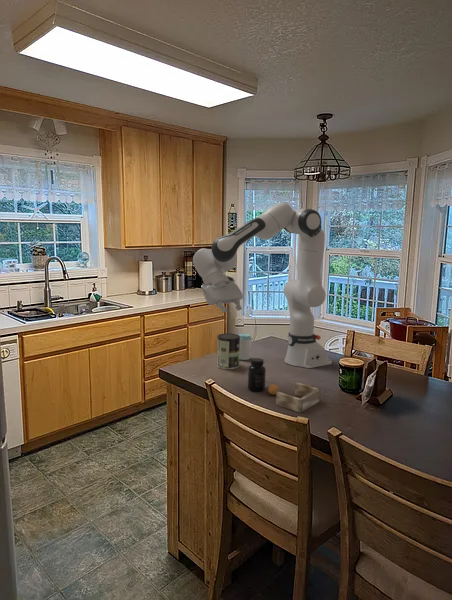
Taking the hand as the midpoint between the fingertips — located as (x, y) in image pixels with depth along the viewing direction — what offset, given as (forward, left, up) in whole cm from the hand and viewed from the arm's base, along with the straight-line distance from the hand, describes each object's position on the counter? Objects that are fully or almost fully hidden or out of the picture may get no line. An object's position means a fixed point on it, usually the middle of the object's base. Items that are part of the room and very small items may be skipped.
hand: (232, 310), depth 173 cm
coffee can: (-5, -18, -30) cm, 35 cm away
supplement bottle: (-6, +12, -30) cm, 33 cm away
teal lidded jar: (-16, -26, -30) cm, 42 cm away
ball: (-10, +19, -27) cm, 35 cm away
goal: (-16, +28, -29) cm, 43 cm away
